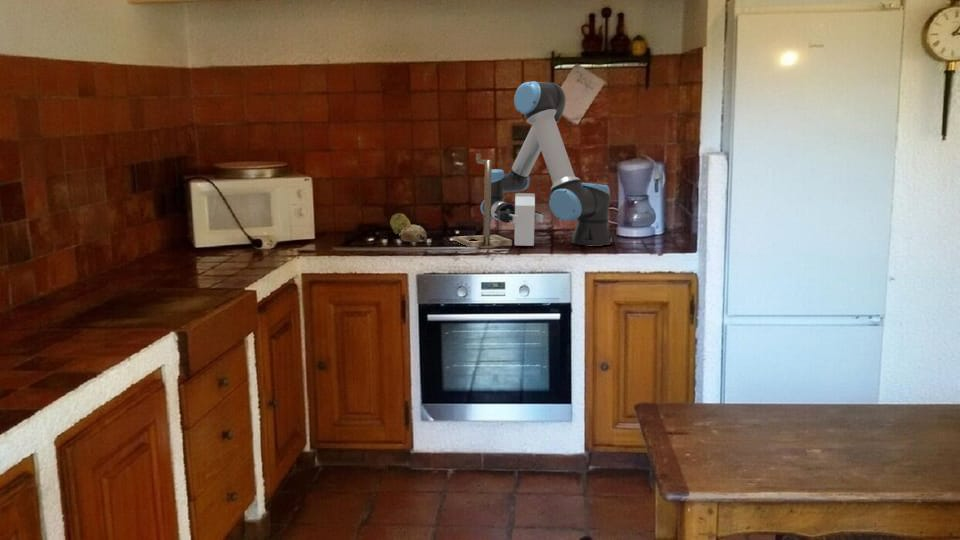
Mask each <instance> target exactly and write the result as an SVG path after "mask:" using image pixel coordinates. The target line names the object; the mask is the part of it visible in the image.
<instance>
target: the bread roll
mask: <svg viewBox="0 0 960 540" xmlns="http://www.w3.org/2000/svg"><path fill="white" fill-rule="evenodd" d="M398 236H399V239H400V240H401V241H402V242H406V243H408V242H409V243H421V242H422V243H423V242H425V241H427V239H428V238H427V237H428V235H427V232H426V230H425V229H424V227H422V226H421V225H417V224H411V225H408V226H406V227H405V228H404V229H403V230H401V233H399V235H398Z"/></svg>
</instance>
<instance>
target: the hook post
mask: <svg viewBox="0 0 960 540" xmlns="http://www.w3.org/2000/svg"><path fill="white" fill-rule="evenodd" d="M475 161H476V163H477V164H481V165H484V180H485V181H484V191H483V192H484V194H483V195H484V197H483V199H484V200H483V201H484V215H483V235H484V238H483V245H479V247H478V248H480V249H494V248H495V246H494V245H492V244H490V235H491V218H490V216H491V169H493V168H492V166H493V165H492V163H493V161H492V159H482V154H481V153H476V154H475Z"/></svg>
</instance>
